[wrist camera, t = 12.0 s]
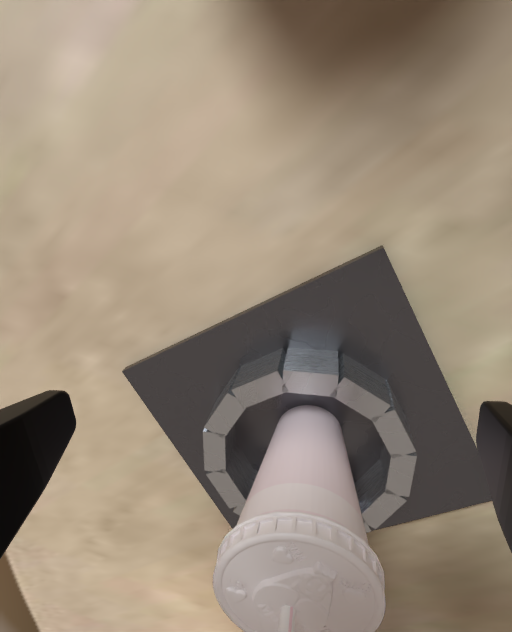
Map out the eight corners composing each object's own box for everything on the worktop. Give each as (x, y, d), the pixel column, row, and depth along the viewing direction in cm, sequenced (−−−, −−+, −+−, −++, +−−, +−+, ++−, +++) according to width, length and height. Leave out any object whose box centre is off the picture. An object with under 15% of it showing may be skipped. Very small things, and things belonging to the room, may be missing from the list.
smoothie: (234, 441, 25) (135, 748, 12) (289, 363, 23) (235, 647, 10) (326, 493, 26) (321, 843, 13) (390, 422, 23) (465, 769, 10)
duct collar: (382, 245, 20) (390, 261, 17) (496, 491, 24) (517, 536, 21) (125, 367, 25) (100, 394, 22) (256, 553, 29) (248, 596, 26)
